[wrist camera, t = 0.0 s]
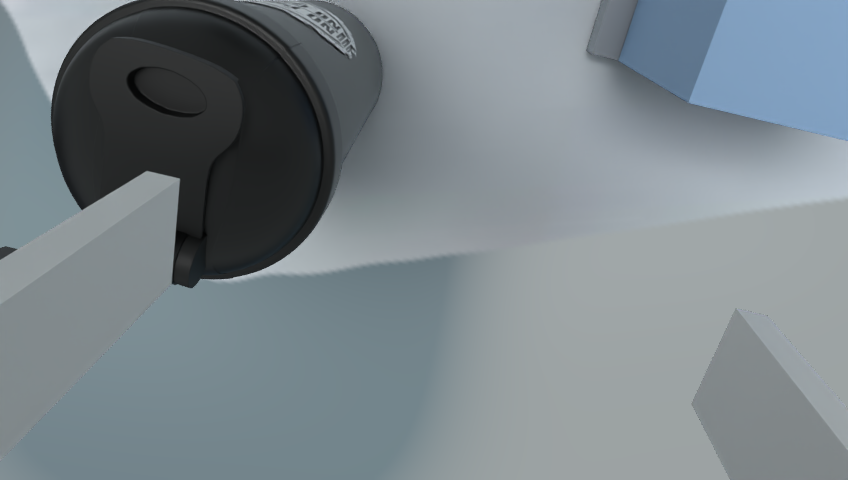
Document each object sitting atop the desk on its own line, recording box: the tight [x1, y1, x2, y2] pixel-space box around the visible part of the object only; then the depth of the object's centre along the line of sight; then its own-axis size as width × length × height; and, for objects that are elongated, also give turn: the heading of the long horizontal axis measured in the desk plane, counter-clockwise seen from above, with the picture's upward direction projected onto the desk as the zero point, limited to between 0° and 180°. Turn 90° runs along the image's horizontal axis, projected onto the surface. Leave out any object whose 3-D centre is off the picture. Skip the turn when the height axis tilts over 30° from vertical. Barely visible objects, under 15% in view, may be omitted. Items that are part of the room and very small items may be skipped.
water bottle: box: [51, 0, 382, 288], centre depth 31 cm, size 10×10×23 cm
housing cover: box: [618, 0, 848, 141], centre depth 30 cm, size 9×11×13 cm
